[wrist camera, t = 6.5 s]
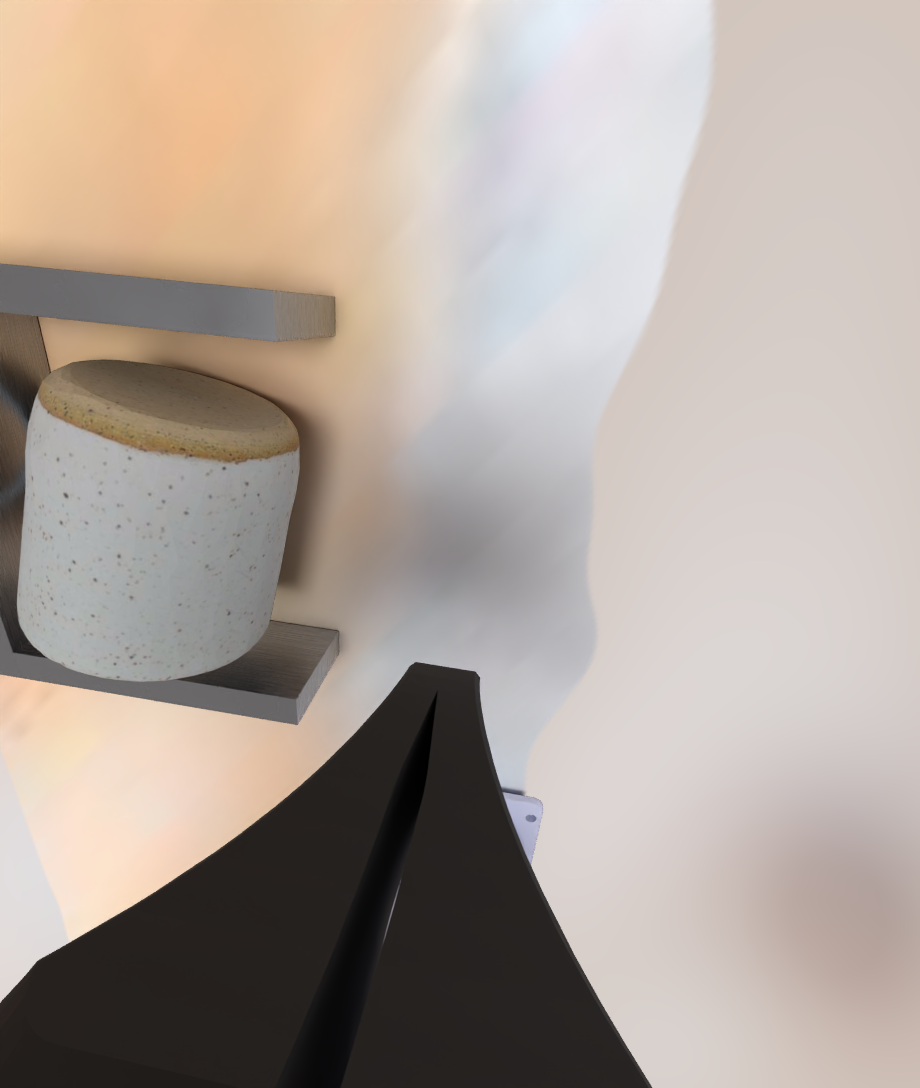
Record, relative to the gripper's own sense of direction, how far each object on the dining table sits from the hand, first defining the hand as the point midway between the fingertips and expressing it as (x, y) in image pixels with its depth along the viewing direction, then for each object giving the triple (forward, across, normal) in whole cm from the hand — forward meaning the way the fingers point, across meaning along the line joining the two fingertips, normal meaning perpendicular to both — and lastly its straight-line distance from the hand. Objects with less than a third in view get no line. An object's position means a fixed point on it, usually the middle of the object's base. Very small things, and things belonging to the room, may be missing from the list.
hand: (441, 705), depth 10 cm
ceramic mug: (+10, +12, 0) cm, 15 cm away
